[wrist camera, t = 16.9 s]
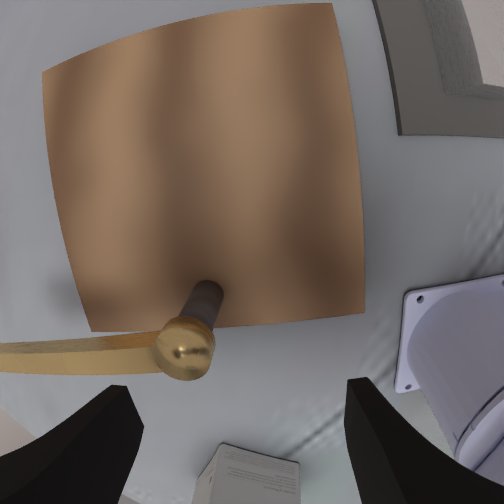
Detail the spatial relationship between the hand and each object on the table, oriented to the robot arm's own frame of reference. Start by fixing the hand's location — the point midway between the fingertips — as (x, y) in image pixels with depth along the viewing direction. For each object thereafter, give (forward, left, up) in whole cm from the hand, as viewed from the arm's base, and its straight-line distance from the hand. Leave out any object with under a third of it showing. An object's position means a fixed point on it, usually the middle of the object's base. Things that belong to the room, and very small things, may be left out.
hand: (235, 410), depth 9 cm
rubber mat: (-14, -13, -10) cm, 21 cm away
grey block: (-14, -13, -9) cm, 21 cm away
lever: (+8, 0, -3) cm, 8 cm away
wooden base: (+2, -7, -10) cm, 12 cm away
